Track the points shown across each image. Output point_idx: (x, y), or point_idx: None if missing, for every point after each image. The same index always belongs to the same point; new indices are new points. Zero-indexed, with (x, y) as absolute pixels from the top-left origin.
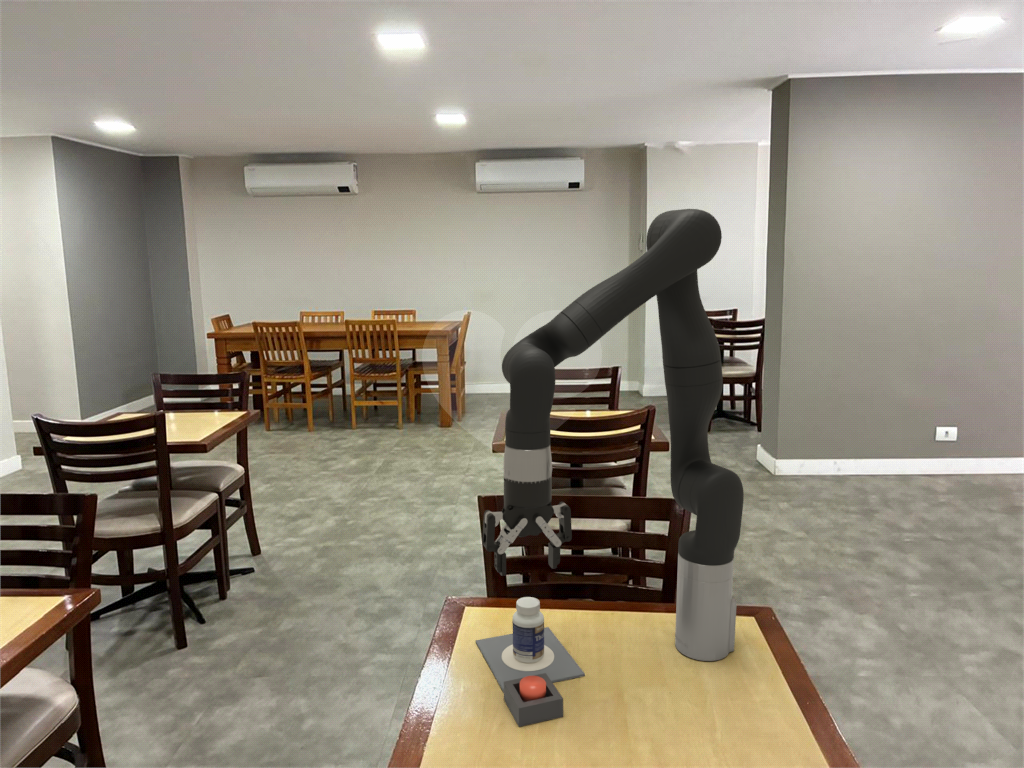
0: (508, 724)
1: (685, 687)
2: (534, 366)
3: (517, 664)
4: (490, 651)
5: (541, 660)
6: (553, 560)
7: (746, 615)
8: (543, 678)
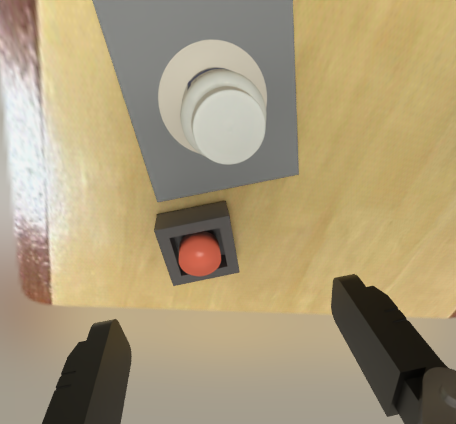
0: (161, 261)
1: (416, 215)
2: None
3: None
4: (133, 66)
5: None
6: (352, 348)
7: None
8: (222, 228)
